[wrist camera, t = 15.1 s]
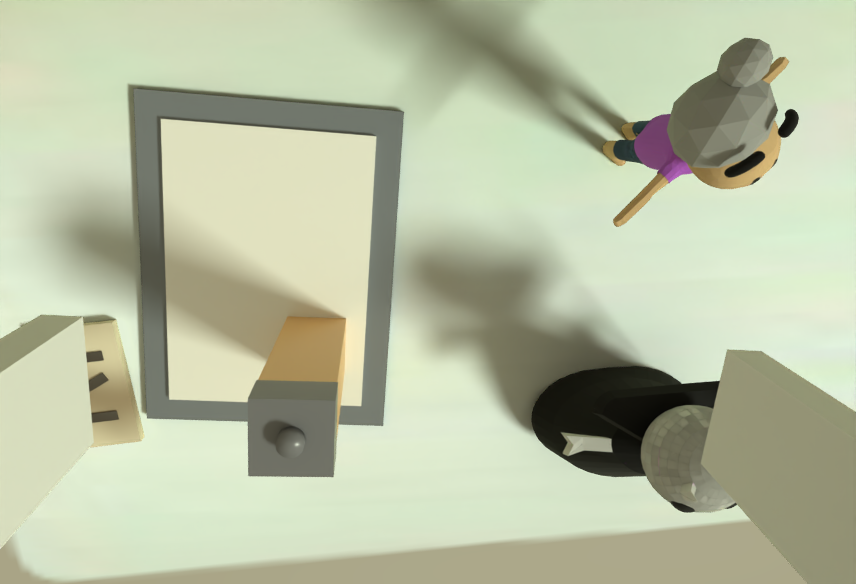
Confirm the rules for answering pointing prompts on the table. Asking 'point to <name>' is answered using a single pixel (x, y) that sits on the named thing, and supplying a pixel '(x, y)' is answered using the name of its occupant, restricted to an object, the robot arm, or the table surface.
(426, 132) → the table surface
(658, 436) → the toy
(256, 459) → the tan grey knobbed box
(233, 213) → the grey framed cream board
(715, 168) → the toy
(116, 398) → the word card
